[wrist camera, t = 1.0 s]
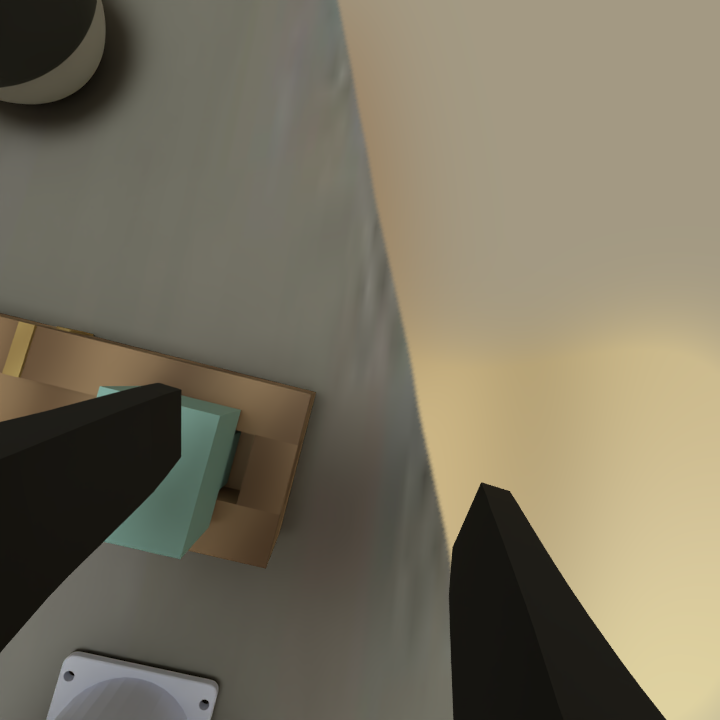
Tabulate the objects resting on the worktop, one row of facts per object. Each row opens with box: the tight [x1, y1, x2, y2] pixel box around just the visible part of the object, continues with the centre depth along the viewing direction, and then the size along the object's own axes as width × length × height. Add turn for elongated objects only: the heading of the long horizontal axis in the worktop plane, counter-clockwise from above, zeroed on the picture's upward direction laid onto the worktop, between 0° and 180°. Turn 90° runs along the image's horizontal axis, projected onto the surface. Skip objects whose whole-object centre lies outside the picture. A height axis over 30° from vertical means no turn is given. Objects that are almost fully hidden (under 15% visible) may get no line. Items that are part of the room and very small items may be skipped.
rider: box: [96, 386, 241, 559], centre depth 16 cm, size 4×5×5 cm
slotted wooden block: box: [0, 313, 316, 568], centre depth 17 cm, size 24×8×6 cm, turn 76°
